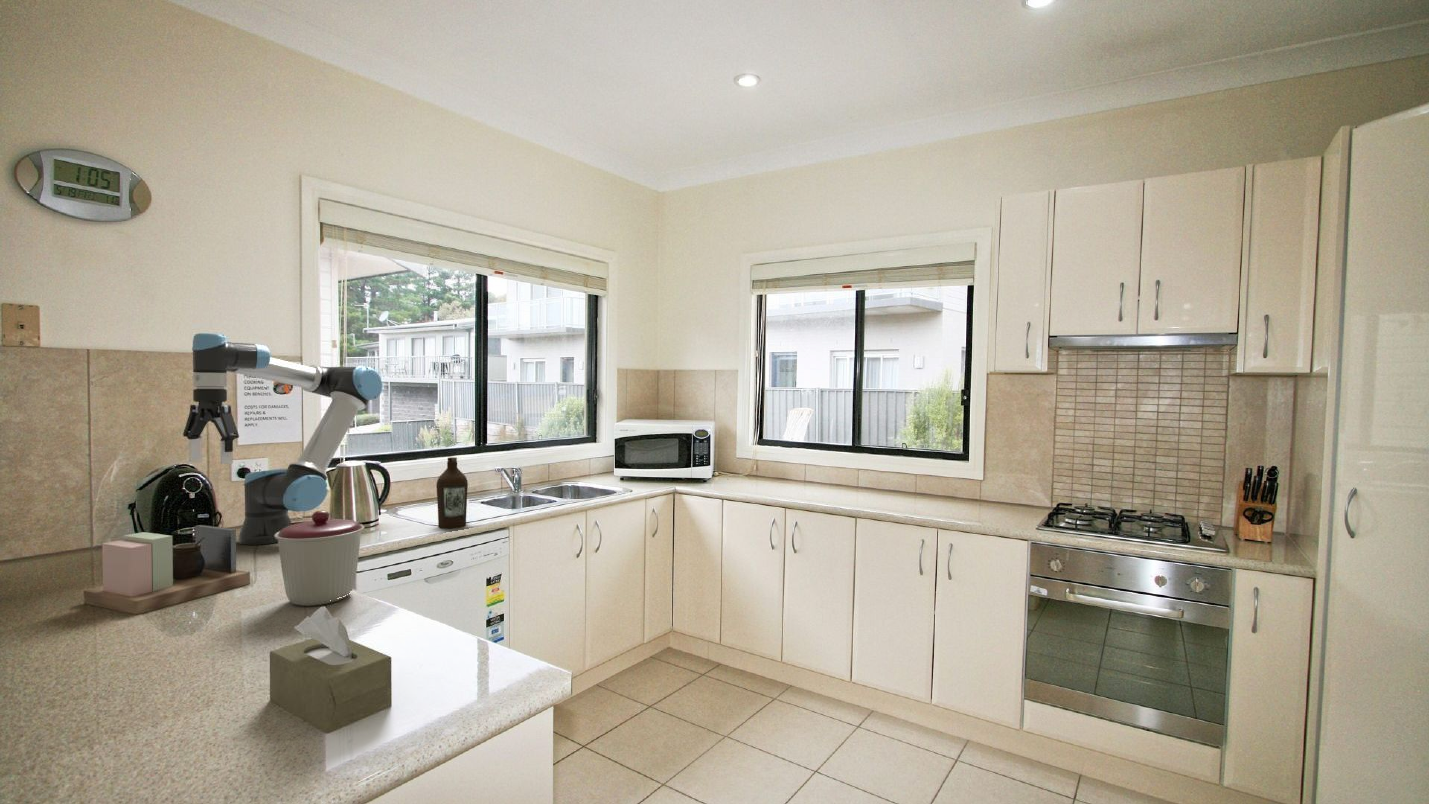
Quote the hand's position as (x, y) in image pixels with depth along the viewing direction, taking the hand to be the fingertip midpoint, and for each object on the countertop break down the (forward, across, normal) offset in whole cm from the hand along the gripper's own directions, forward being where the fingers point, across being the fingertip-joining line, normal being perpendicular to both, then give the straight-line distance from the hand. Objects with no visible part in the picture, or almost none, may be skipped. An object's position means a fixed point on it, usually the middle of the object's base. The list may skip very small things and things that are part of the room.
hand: (210, 462), depth 181 cm
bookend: (+26, +20, -11) cm, 34 cm away
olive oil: (+29, +26, +65) cm, 76 cm away
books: (+26, +20, -28) cm, 43 cm away
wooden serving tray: (+29, +20, -21) cm, 41 cm away
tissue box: (+29, +106, -46) cm, 119 cm away
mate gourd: (+26, +20, -18) cm, 37 cm away
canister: (+29, +58, -11) cm, 66 cm away
